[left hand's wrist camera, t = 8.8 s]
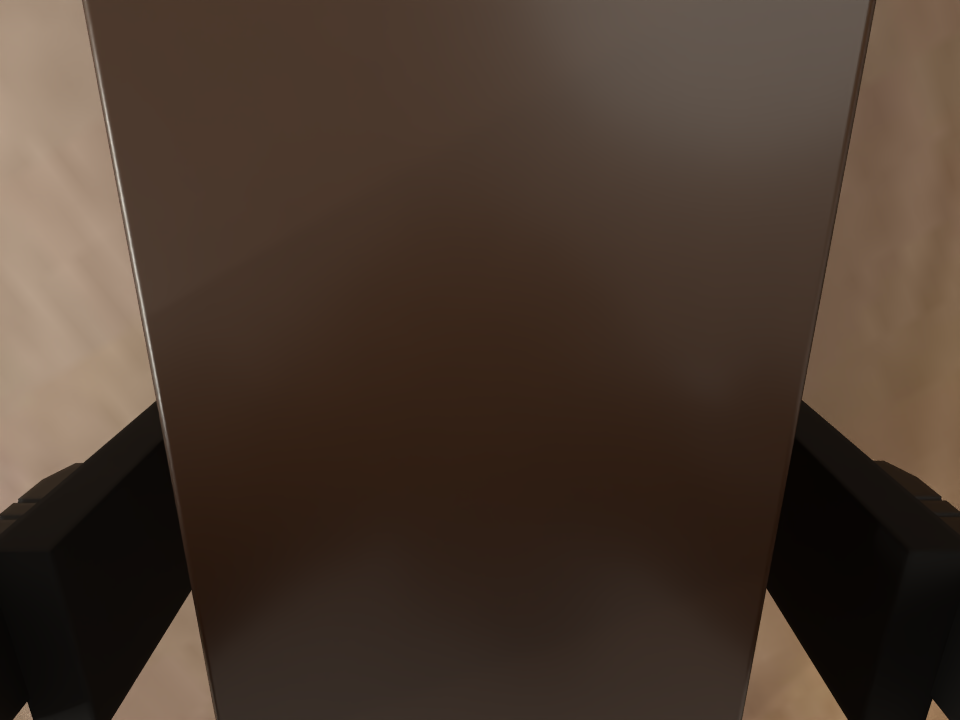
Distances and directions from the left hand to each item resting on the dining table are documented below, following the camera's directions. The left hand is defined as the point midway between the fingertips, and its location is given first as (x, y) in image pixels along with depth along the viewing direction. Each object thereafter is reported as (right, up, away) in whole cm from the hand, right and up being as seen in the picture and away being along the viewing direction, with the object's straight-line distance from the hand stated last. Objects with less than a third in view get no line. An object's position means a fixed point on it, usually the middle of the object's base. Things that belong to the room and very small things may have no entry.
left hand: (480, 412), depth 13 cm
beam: (0, +10, -3) cm, 11 cm away
